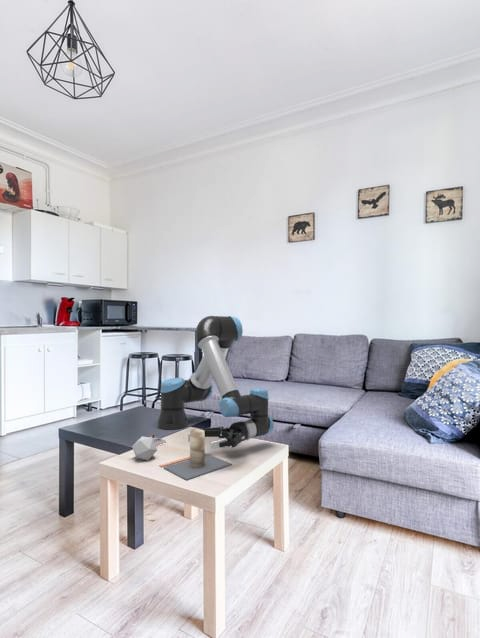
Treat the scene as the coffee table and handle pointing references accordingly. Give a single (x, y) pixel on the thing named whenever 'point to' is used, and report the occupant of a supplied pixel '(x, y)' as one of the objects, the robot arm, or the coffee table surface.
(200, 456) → the beige banded cylinder
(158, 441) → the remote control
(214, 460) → the mat
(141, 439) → the die
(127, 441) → the coffee table surface
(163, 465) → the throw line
